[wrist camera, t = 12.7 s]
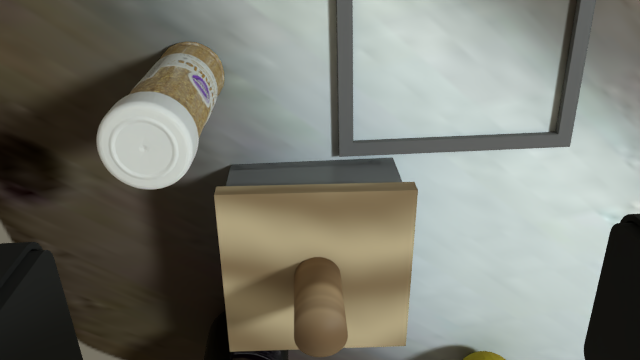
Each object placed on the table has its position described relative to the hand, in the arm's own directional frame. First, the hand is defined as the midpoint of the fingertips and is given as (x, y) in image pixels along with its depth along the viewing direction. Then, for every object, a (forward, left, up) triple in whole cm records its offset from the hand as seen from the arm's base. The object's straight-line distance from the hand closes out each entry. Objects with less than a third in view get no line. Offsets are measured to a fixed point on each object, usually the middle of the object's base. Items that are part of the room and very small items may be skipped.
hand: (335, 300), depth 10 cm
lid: (+17, 0, -25) cm, 30 cm away
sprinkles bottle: (+4, -8, -31) cm, 32 cm away
